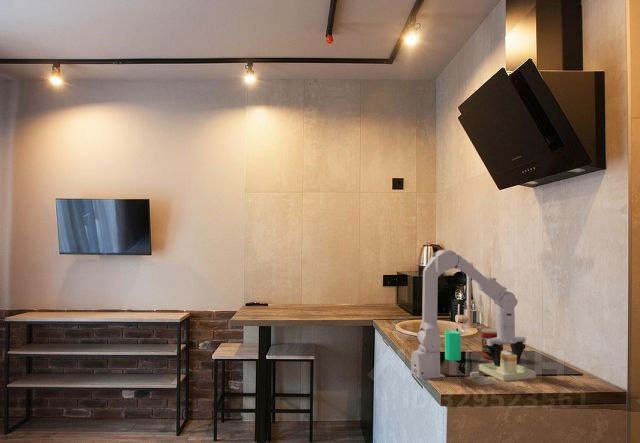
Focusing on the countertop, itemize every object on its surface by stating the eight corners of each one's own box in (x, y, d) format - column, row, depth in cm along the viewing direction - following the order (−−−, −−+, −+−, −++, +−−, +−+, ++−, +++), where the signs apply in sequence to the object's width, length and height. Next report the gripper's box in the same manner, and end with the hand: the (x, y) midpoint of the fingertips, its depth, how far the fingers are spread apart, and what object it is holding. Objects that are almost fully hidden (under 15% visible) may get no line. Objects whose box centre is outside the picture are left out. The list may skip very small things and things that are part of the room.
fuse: (508, 376, 151) (507, 355, 151) (496, 371, 157) (496, 351, 157) (517, 375, 152) (516, 354, 152) (505, 370, 158) (504, 350, 158)
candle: (461, 361, 172) (461, 330, 173) (445, 360, 174) (445, 329, 174) (460, 357, 178) (459, 327, 179) (444, 356, 180) (444, 326, 180)
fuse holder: (480, 387, 142) (480, 380, 142) (464, 378, 151) (464, 372, 151) (499, 385, 144) (499, 378, 144) (482, 377, 153) (481, 370, 153)
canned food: (477, 356, 180) (477, 328, 180) (493, 354, 182) (493, 327, 183) (491, 361, 172) (490, 332, 173) (507, 359, 175) (507, 331, 176)
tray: (503, 382, 147) (503, 375, 147) (479, 371, 159) (478, 364, 159) (536, 379, 150) (536, 371, 150) (509, 368, 163) (509, 361, 163)
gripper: (495, 329, 149) (496, 369, 149) (531, 326, 153) (532, 366, 153) (482, 325, 156) (483, 364, 156) (517, 322, 160) (518, 361, 160)
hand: (506, 365), depth 155 cm, fingers open, 7 cm apart
